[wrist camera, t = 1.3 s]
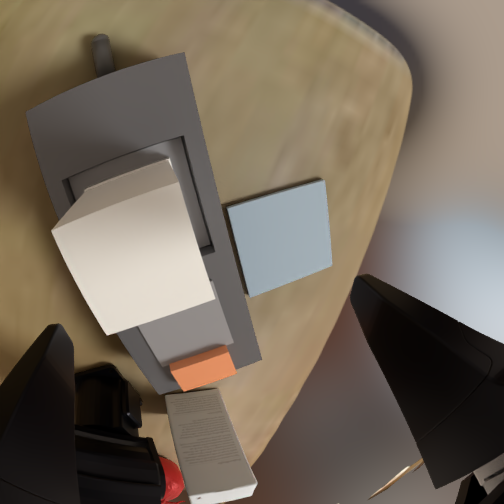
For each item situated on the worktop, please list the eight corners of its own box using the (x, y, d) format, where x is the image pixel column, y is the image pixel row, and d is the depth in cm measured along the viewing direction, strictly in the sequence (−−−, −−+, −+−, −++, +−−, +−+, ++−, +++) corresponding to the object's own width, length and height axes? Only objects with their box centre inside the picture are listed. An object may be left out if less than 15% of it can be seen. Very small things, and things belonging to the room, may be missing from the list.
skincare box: (167, 415, 28) (190, 508, 18) (164, 393, 26) (186, 496, 16) (219, 408, 30) (253, 496, 20) (220, 386, 29) (258, 483, 18)
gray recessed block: (154, 360, 24) (160, 404, 20) (40, 64, 12) (9, 48, 7) (246, 328, 26) (266, 367, 22) (166, 18, 14) (173, -14, 9)
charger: (116, 262, 16) (106, 337, 10) (86, 186, 14) (47, 229, 8) (192, 236, 17) (218, 300, 11) (169, 156, 15) (180, 178, 9)
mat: (248, 295, 25) (249, 297, 24) (226, 206, 21) (227, 208, 20) (329, 263, 26) (332, 265, 26) (322, 179, 22) (324, 180, 22)
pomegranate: (160, 440, 30) (174, 501, 23) (189, 465, 35) (205, 514, 27) (100, 454, 28) (106, 510, 20) (136, 477, 33) (146, 525, 25)
